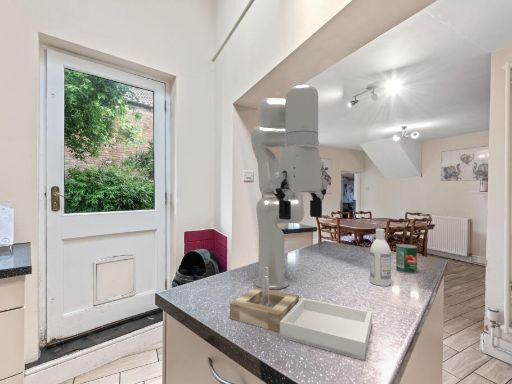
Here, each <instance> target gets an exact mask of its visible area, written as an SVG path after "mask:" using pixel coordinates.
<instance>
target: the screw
mask: <svg viewBox="0 0 512 384" xmlns="http://www.w3.org/2000/svg"><path fill="white" fill-rule="evenodd" d="M268 276H269V275H268V267H267V266H265V267H264V275H263V285H262V286H263V287H262V288H263V296H262V297H263V298H262V299H263V300H262V301H263V302H261V303H259V305H263V306H268V307H272V308H273V307H274V305H273V304H272V303H270V302H269V290H270V289H269V277H268Z"/></svg>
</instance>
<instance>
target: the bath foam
mask: <svg viewBox="0 0 512 384" xmlns="http://www.w3.org/2000/svg"><path fill="white" fill-rule="evenodd" d="M385 236H386V235H385V229H384V228H376V229H375V239H374V240H373V242H372V244H371V246H370V249H369V281H370V283H371V284H372V285H375V286H378V287H389V286H390V285H391V284H392V266H391V265H392V257H391V256H392V251H391V247H390V245H389V244H388V242H387V240H386V238H385Z"/></svg>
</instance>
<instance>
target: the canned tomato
mask: <svg viewBox="0 0 512 384" xmlns="http://www.w3.org/2000/svg"><path fill="white" fill-rule="evenodd" d="M395 247H396V249H395V250H396V251H395V252H396V253H395V256H396V257H395V259H396V262H395V263H396V265H395V266H396V269H395V270H396V271H397V272H398V273H401V274H406V275H407V274H408V275H409V274H410V275H415V274H418V246H417V245H415V244H414V245H413V244H407V243H402V244H401V243H398V244H397V243H396V244H395Z"/></svg>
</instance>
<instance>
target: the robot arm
mask: <svg viewBox="0 0 512 384" xmlns="http://www.w3.org/2000/svg"><path fill="white" fill-rule="evenodd" d="M256 120H257V123H258V125H257V126H256V127H254V128H252V131H251V137H250V139H251V140H250V141H251V149H252V151H253V154H254V156H255V159H256V162H257V174H258V175H257V177H258V187H259V191H260V193H261V194H262V195H263V196H264V195H265V196H267V197H262V198H260V199H259V200H258V201H257V202H256V206H255V208H256V211H255V213H256V218H257V225H258V229H257V230H258V277H256V278H254V285H255V287H258V288H262V287H263V286H262V285H263V275H264V267H265V266H267V267H268V275H269V276H268V277H269V290H280V289H284V288H287V287H288V286H289V283H290V281H289V279H287V278H286V277H285V275H286V274H285V273H287V268H286V267H285V265H286V264H285V263H286V261H285V258H286V257H285V253H286V252H285V251H286V249H285V248H286V247H285V245H286V244H285V243H286V242H285V241H286V239H285V234H284V232H283V231H282V228H280V227H279V225H280V224H297V223H301V222H302V221H303V219H304V218H305V205H304V198H303V193H308V194H309V196H310V198H311V199H310V201H309V215H310V217H312V218H322V217H323V201H324V199H325V198H324V197H325V195H327V190H328V187H329V181H327V180H326V179H325V178H324V177H323V173H322V160H321V154H320V149H319V145H320V141H319V92H318V90H317V88H316V87H315V86H312V85H309V84H299V85H298V84H297V85H295V86H292V87H290V88H288V89H287V90H286V92H285V95H284V97H283V98H282V97H265V98H262V99H261V100H260V101H259V102H258V105H257V109H256ZM270 148H272V149H273V148H274V149H281V151H280V156H279V158H278V157H277V155H276V154H275V153H274V152H273V151H272V150H271V149H270ZM271 196H272V197H271Z"/></svg>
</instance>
